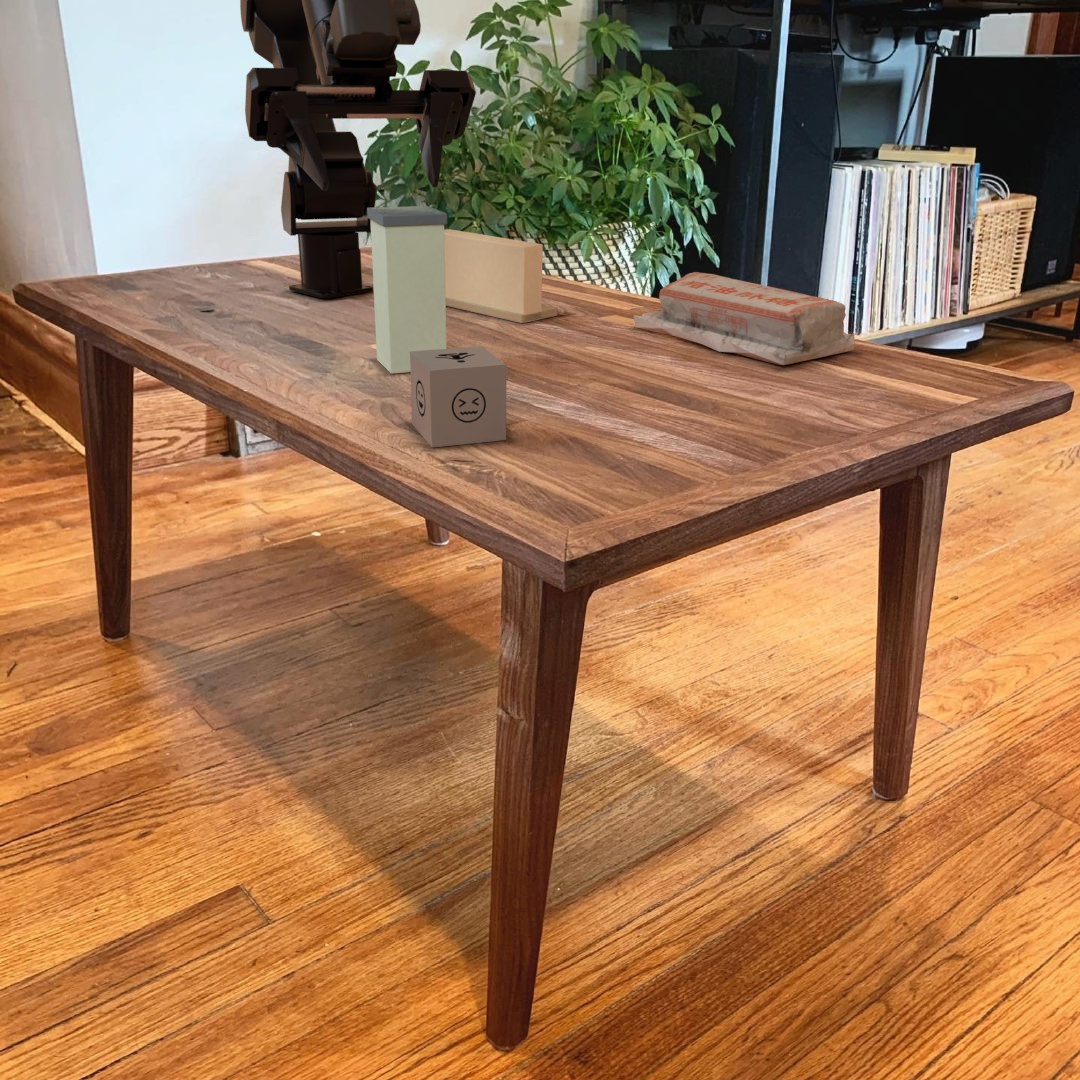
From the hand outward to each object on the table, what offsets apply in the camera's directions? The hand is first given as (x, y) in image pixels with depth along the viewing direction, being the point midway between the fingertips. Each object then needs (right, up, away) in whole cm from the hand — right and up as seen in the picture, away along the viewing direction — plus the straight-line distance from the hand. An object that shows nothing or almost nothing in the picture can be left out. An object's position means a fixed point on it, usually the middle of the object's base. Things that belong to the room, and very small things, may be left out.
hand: (381, 185), depth 88 cm
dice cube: (+7, -22, -17) cm, 29 cm away
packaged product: (+31, -11, +9) cm, 34 cm away
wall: (+7, -6, +18) cm, 21 cm away
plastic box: (+2, -15, -1) cm, 15 cm away
